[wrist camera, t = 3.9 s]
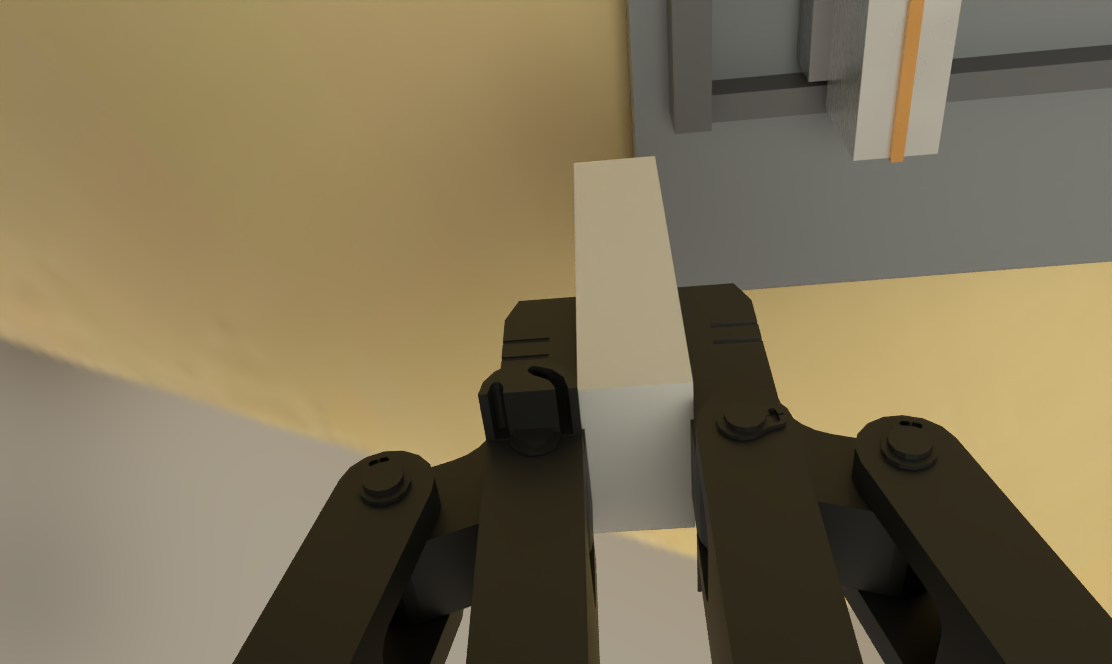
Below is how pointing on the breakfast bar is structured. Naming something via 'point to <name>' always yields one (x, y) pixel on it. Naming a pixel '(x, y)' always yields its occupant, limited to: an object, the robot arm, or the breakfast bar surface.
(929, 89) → the fader
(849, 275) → the console
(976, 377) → the breakfast bar surface
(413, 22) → the breakfast bar surface
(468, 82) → the breakfast bar surface
